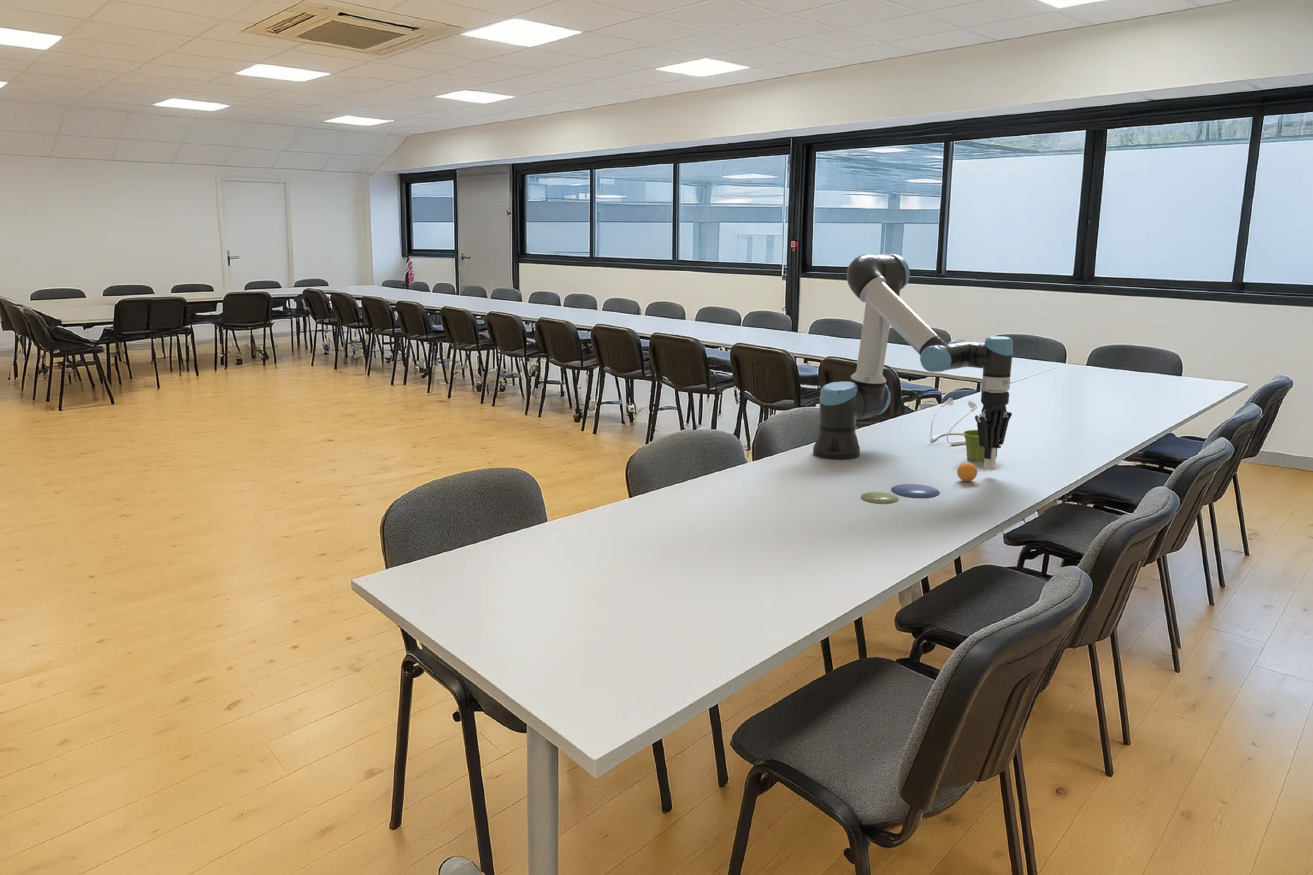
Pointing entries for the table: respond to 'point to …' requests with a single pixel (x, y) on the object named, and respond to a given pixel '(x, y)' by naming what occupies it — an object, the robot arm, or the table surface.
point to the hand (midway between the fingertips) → (989, 468)
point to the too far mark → (879, 497)
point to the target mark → (915, 490)
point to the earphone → (950, 402)
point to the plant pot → (973, 446)
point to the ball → (967, 472)
